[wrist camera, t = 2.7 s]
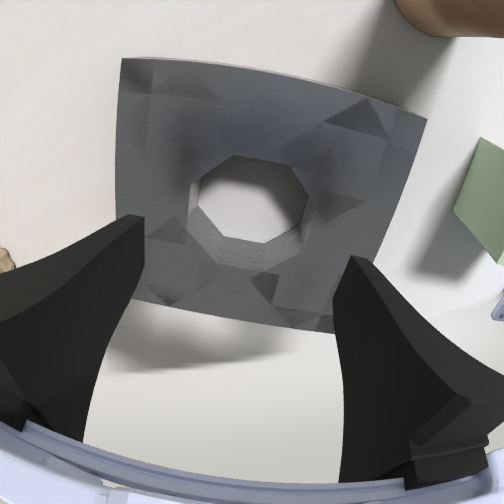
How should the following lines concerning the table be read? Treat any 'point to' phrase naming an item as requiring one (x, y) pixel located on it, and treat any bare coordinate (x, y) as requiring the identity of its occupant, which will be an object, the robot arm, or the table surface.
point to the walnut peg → (455, 17)
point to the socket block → (263, 148)
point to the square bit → (484, 199)
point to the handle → (5, 261)
